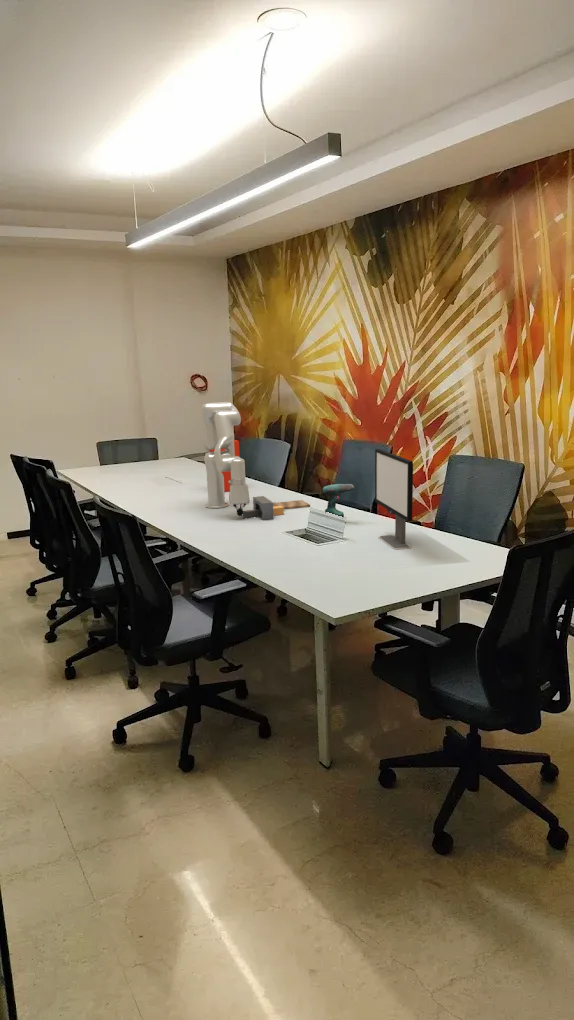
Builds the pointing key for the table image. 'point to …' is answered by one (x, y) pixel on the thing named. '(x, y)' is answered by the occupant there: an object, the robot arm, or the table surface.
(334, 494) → the power drill
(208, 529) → the table surface
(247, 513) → the grey and orange bar
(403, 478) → the computer monitor
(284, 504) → the pad
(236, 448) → the file binder
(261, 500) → the grey slotted block
